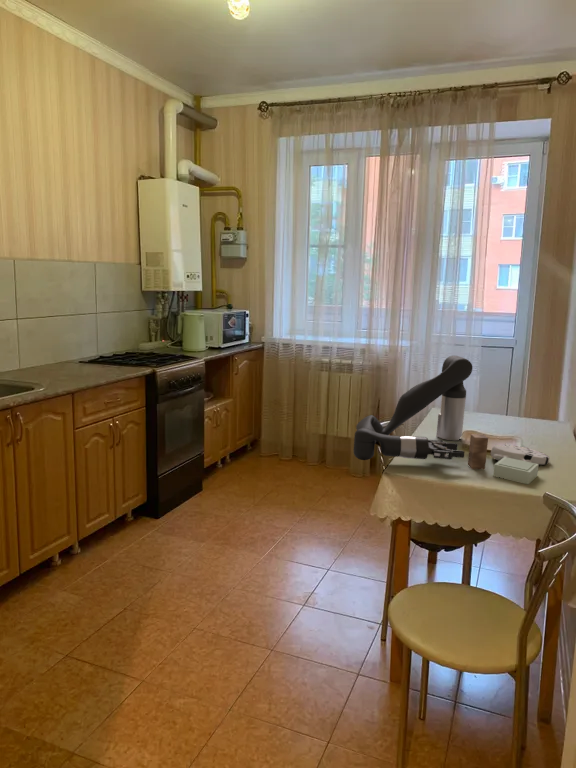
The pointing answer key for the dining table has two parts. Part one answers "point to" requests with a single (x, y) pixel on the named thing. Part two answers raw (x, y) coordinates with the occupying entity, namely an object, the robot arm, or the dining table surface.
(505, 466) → the stand
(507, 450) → the toy
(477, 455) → the block
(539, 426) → the dining table surface
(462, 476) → the dining table surface
